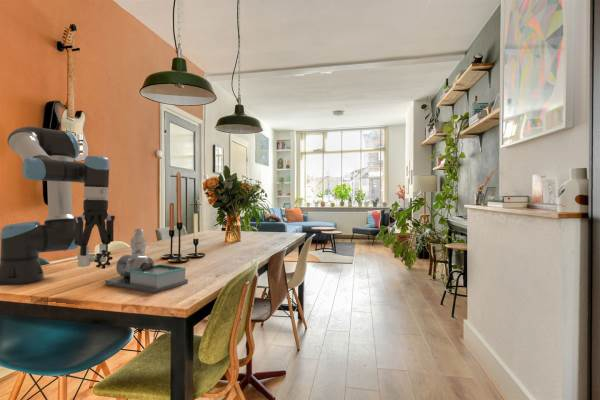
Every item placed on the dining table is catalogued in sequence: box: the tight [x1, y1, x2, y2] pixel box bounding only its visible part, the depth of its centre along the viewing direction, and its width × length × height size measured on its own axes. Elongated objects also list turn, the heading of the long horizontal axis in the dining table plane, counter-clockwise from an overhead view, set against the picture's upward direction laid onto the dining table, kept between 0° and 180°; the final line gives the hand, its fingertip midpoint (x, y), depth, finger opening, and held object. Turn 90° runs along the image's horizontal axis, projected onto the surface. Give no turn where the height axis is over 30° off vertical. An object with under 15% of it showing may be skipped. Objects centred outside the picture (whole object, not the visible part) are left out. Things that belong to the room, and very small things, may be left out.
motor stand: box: [105, 254, 189, 294], centre depth 128 cm, size 26×17×10 cm, turn 66°
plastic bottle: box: [130, 228, 147, 257], centre depth 146 cm, size 6×7×20 cm
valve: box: [77, 247, 113, 270], centre depth 116 cm, size 7×7×12 cm
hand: (94, 263), depth 116 cm, fingers closed on valve, 5 cm apart
